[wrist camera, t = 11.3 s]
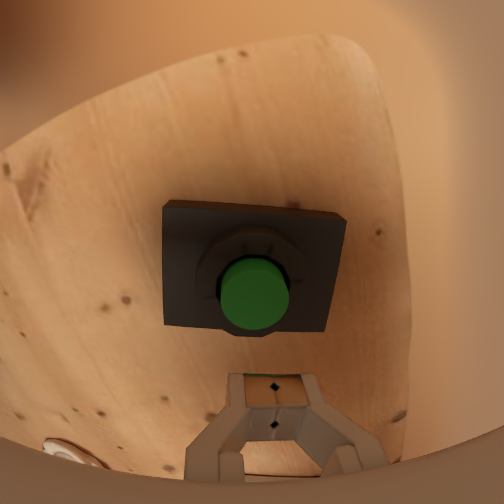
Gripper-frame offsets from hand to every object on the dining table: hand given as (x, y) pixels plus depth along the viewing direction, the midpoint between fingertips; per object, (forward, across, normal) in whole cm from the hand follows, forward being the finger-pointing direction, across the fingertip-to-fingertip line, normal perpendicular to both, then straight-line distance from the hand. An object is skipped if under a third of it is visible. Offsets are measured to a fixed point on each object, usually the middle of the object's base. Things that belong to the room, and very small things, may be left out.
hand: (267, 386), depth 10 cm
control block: (+12, 0, 0) cm, 12 cm away
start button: (+8, 0, 0) cm, 8 cm away
